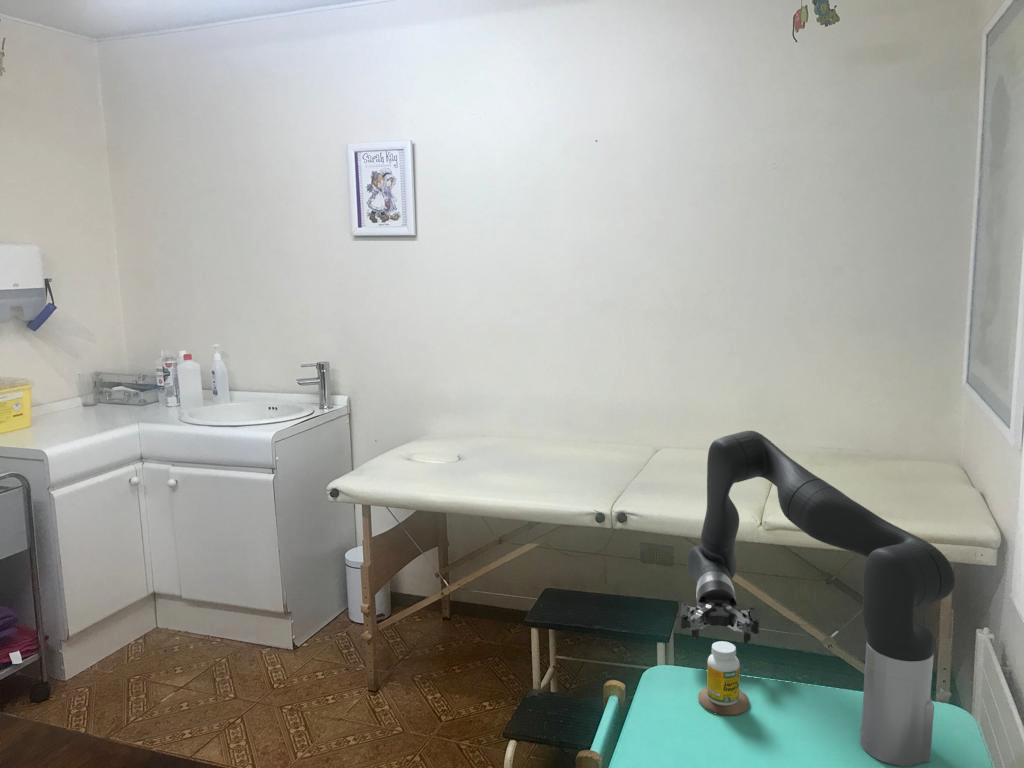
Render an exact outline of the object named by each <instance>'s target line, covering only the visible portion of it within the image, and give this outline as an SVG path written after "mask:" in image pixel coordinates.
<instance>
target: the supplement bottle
mask: <svg viewBox="0 0 1024 768" xmlns="http://www.w3.org/2000/svg"><path fill="white" fill-rule="evenodd" d="M736 655H737V647H736V645H735V644H733V643H731V642H728V641H724V640H721V641H715V642H713V643H712V645H711V654H709V656H708V658H707V666H706V667H707V671H706V672H707V673H706V675H707V677H706V678H707V679H706V680H707V681H706V682H707V683H706V684H707V685H706V687H707V696H708V698H709V700H710V701H712V702H713V703H715V704H718V705H722V706H729V705H733V704H735V703H736V702H737V701H738V698H739V690H740V670H741V665H740V664H741V663H740V661H739V659H738V657H737V656H736Z"/></svg>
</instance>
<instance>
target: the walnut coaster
mask: <svg viewBox="0 0 1024 768" xmlns="http://www.w3.org/2000/svg"><path fill="white" fill-rule="evenodd" d="M697 699H698V700H699V701H698V703H699V704H701V705H702V706H701V705H700V706H701V707H702V708H703V709H704V708H705V710H706V709H707V710H708V712H709V711H710V712H709V713H711V712H712V714H714V713H716V714H715V715H717V714H718V716H722V715H723V717H735V716H739V715H742V714H744V713H746V712H747V711H748V709H749V707H750V698H749V696H748V695H747V694H746V693H745V692H743V691H742V690H740V689H739V698H738V701H737V702H736V703H735V704H733V705H729V706H722V705H718V704H715V703H713V702H712V701H710V700H709V698H708V696H707V686H705V687H703V688H702V689H700V691H699V692H698V694H697ZM707 710H706V711H707Z"/></svg>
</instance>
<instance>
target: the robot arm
mask: <svg viewBox="0 0 1024 768" xmlns="http://www.w3.org/2000/svg"><path fill="white" fill-rule="evenodd" d="M706 467H707V468H706V469H707V470H706V512H705V517H704V520H703V524H702V529H701V530H702V531H701V533H700V542H701V544H700V545H699V544H698V545H695V546H693V547H691V548H690V549H689V551H688V553H687V557H686V568H687V572H688V574H689V576H690V577H691V579H692V580H693V581H694V583H696V596H695V597H696V606H695V607H694V606H690V605H689V603H688V602H681V606H680V619H679V621H680V622H679V623H680V624H679V625H680V626H679V627H680V629H683V630H684V629H687V628H689V629H690V631H689V632H690V636H691V637H692V638H694V640H695V641H696V640H697V641H699V637H700V636H699V635H700V634H699V633H700V629H701V630H703V629H705V628H707V627H709V626H714V627H715V626H716V627H717V626H720V627H727V628H729V629H731V630H732V631H734V632H739V633H741V638H742V639H741V640H742V643H743V644H746V645H747V644H748V642H750V641H752V634H754V635H755V634H756V635H758V634H760V621H761V620H760V618H759V615H758V612H757V609H756V607H755V606H749V607H748V609H747V610H745V609H744V610H741V608H740V607H739V606H738V603H737V597H736V592H735V588H734V585H733V583H732V579H733V578H734V577H735V575H736V573H737V568H738V567H737V558H736V552H735V543H736V539H737V535H738V531H739V526H740V515H739V512H738V508H737V507H736V505H735V503H734V502H733V500H732V499H731V498H730V492H731V489H732V487H733V485H734V484H737V483H741V482H744V481H748V480H750V479H751V480H752V479H755V478H763V479H765V480H767V481H769V482H770V483H772V485H774V486H775V487H776V489H777V490H776V491H777V498H778V502H779V507H780V509H781V512H782V513H783V515H784V516H785V518H787V520H788V521H790V522H791V523H792V524H793V525H794V526H795V527H797V528H799V529H800V530H801V531H802V532H804V533H805V534H806V535H807V536H809V537H811V538H813V539H815V540H817V541H819V542H820V543H821V542H822V543H823V544H826V545H829V546H833V547H835V548H839V549H842V550H845V551H849V552H853V553H856V554H858V555H861V556H863V557H866V560H865V562H864V566H863V574H862V576H863V577H862V616H863V622H864V627H865V630H866V647H865V662H864V663H865V664H864V665H865V666H864V676H863V677H864V679H863V692H862V693H863V694H862V696H863V697H862V711H861V726H860V745H861V747H862V748H863V749H864V751H865V752H866V753H868V754H869V755H870V756H871V757H873V758H875V759H876V760H878V761H881V762H882V763H886V764H889V765H895V766H898V767H899V766H901V767H911V766H912V767H913V766H916V765H919V764H921V763H931V751H932V741H933V730H934V729H933V728H934V727H933V726H934V717H935V716H934V715H935V703H934V702H933V700H932V698H931V691H932V680H933V665H934V656H935V655H934V652H935V643H936V642H935V636H934V633H933V631H932V630H931V629H930V628H929V627H927V626H925V624H922V623H921V622H919V621H916V620H914V619H915V618H914V617H915V616H914V613H915V608H916V607H920V606H921V607H922V606H925V605H929V604H932V603H936V602H938V601H939V602H940V601H941V600H943V599H945V598H947V597H948V596H949V595H950V594H951V593H952V592H953V590H954V588H955V585H956V578H955V572H954V570H953V569H954V568H953V566H952V565H951V563H950V562H949V560H948V558H947V557H946V556H945V554H943V552H942V551H940V550H939V548H937V547H936V546H935V545H933V544H931V543H930V542H928V541H926V540H925V539H922V538H920V537H918V536H917V535H914V534H913V533H911V532H909V531H906V530H905V529H903V528H901V527H899V526H897V525H895V524H892V523H891V522H888V521H887V520H885V519H884V518H882V517H880V516H878V515H877V514H876V513H874V512H872V511H871V510H869V509H868V508H866V507H865V506H863V505H861V504H860V503H858V502H856V501H855V500H854V499H852V498H850V497H849V496H848V495H846V494H845V493H844V492H842V491H841V490H839V489H838V488H837V487H834V486H833V485H832V484H830V483H828V482H827V481H826V480H824V479H822V478H820V477H818V476H817V475H815V474H814V473H812V472H811V471H809V470H808V469H806V468H805V467H803V466H802V465H801V464H799V463H798V462H796V461H795V460H793V459H792V458H791V457H790V456H789V455H787V454H786V453H785V452H784V451H782V450H781V449H780V448H779V447H778V446H776V445H775V444H774V443H773V442H772V441H771V440H770V439H768V437H766V436H765V435H763V434H761V433H759V432H757V431H755V430H743V431H740V432H735V433H732V434H728V435H725V436H722V437H720V438H719V437H718V438H717V439H715V440H713V441H712V443H710V445H709V448H708V454H707V466H706Z"/></svg>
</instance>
